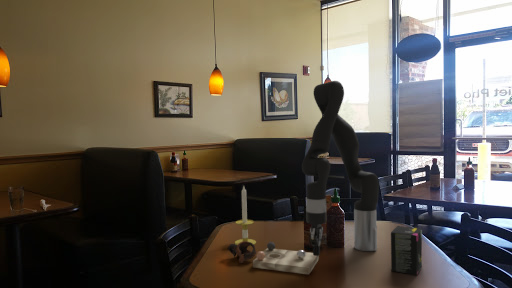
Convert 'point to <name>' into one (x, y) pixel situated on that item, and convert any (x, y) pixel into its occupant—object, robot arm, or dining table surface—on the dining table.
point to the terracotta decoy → (260, 255)
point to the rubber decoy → (271, 246)
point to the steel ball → (301, 254)
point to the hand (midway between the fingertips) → (316, 254)
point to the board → (286, 261)
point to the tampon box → (406, 250)
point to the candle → (244, 221)
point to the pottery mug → (242, 250)
